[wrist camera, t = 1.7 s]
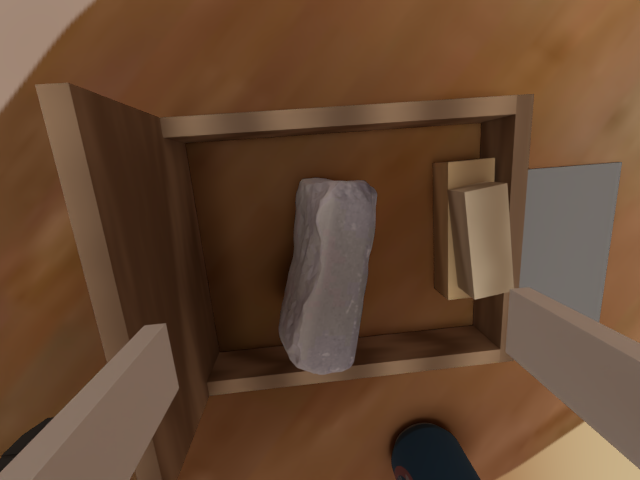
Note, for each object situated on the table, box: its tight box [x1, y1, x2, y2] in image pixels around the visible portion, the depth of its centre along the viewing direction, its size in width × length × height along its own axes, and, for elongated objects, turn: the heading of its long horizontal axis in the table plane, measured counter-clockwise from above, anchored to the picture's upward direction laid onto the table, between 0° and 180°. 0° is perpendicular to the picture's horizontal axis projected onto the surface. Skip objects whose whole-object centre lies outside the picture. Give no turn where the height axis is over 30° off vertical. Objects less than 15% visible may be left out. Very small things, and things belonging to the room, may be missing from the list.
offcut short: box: [447, 181, 514, 299], centre depth 23 cm, size 3×8×2 cm, turn 12°
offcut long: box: [433, 158, 495, 300], centre depth 26 cm, size 4×11×3 cm, turn 5°
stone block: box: [279, 178, 377, 375], centre depth 21 cm, size 12×5×10 cm, turn 171°
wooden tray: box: [35, 83, 534, 480], centre depth 20 cm, size 26×20×12 cm
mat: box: [519, 162, 622, 322], centre depth 28 cm, size 11×16×1 cm
